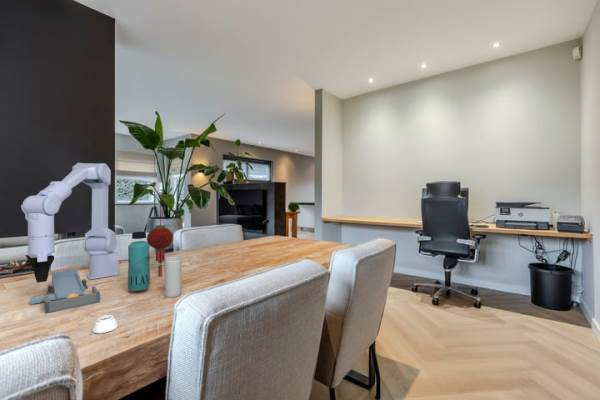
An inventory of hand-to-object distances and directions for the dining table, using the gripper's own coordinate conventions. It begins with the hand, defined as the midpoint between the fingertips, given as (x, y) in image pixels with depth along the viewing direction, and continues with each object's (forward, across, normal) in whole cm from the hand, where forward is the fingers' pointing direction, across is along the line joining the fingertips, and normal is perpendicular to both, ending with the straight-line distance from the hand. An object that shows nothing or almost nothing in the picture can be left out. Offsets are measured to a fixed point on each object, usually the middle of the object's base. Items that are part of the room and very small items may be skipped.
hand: (41, 281), depth 83 cm
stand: (+6, -7, +6) cm, 12 cm away
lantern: (+6, -4, +34) cm, 35 cm away
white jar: (+6, +33, +10) cm, 35 cm away
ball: (+4, +8, +6) cm, 11 cm away
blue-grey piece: (+5, -7, +4) cm, 10 cm away
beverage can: (+6, +21, +30) cm, 37 cm away
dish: (+6, +7, +6) cm, 11 cm away
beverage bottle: (+6, +10, +23) cm, 26 cm away
